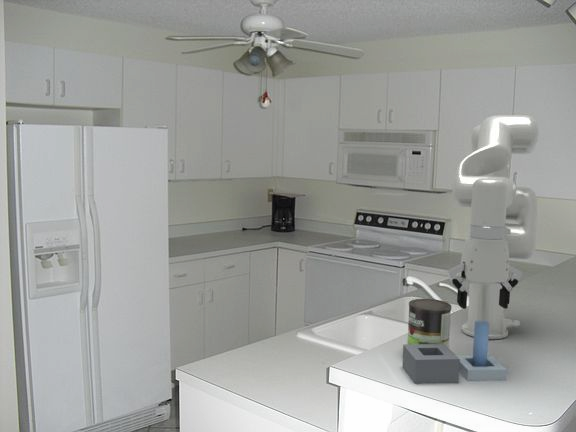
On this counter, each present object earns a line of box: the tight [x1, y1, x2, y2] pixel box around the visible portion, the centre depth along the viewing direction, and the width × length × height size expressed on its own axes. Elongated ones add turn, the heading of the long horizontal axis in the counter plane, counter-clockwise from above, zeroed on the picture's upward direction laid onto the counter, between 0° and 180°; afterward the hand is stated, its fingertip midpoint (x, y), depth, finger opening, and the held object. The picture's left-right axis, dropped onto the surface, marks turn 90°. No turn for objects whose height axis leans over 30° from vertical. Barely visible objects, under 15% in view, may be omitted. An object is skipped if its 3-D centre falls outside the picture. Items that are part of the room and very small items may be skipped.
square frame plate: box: [456, 354, 508, 382], centre depth 140 cm, size 9×9×3 cm
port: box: [402, 343, 460, 385], centre depth 138 cm, size 10×10×6 cm
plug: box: [472, 321, 489, 367], centre depth 139 cm, size 3×3×12 cm
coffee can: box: [406, 298, 452, 349], centre depth 149 cm, size 10×10×14 cm
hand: (482, 307), depth 138 cm, fingers open, 9 cm apart
